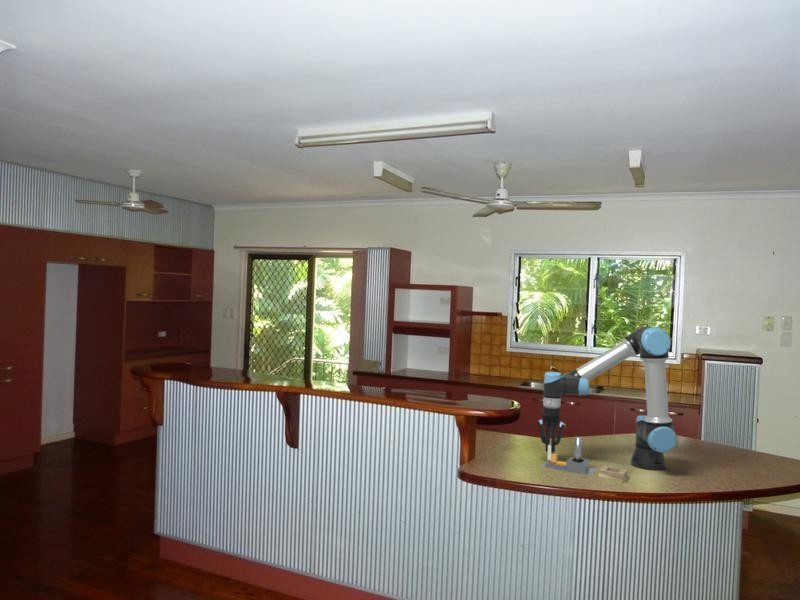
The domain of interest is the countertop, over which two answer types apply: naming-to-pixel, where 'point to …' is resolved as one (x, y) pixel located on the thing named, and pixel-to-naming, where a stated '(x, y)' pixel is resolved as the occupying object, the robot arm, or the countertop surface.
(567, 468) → the socket station
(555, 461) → the orange block
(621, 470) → the light wood square frame
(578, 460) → the peg
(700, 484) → the countertop surface
